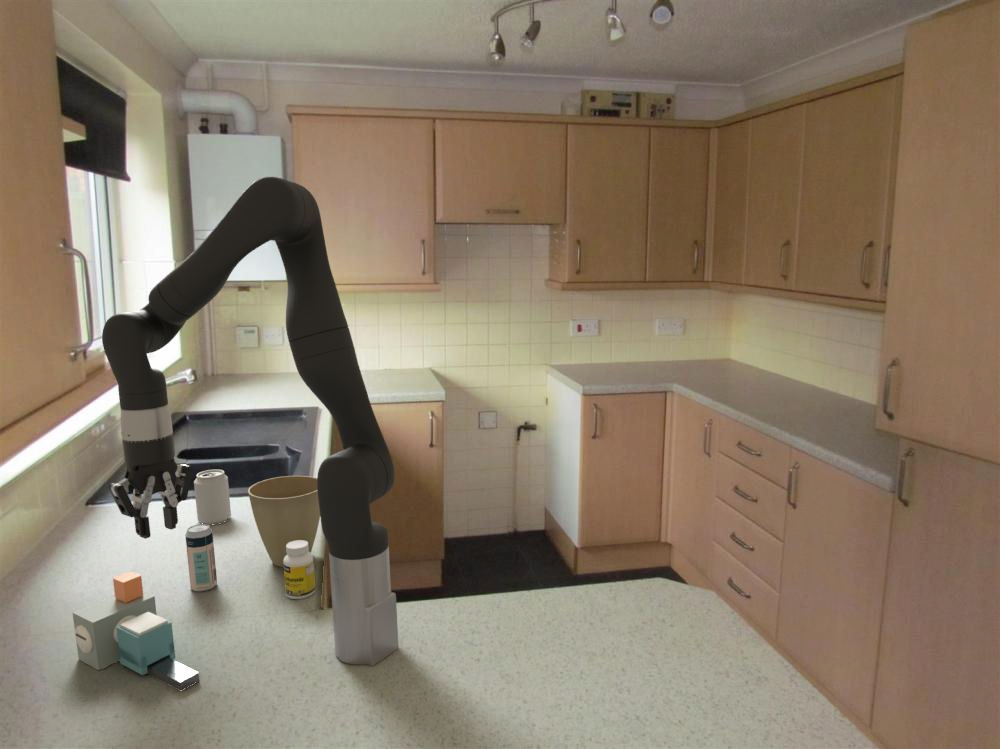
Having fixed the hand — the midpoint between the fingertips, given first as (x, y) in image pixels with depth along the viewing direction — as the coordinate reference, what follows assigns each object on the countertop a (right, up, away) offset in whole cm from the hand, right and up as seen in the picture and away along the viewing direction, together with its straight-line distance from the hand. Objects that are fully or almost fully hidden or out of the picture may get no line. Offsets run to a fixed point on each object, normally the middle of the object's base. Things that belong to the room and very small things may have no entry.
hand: (158, 531), depth 122 cm
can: (-11, -9, +52) cm, 54 cm away
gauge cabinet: (-4, -18, -4) cm, 19 cm away
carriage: (+2, -19, -8) cm, 21 cm away
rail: (+5, -19, -10) cm, 22 cm away
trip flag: (-3, -10, -3) cm, 11 cm away
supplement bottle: (+20, -15, +14) cm, 29 cm away
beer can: (+1, -15, +18) cm, 23 cm away
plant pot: (+14, -12, +29) cm, 35 cm away
